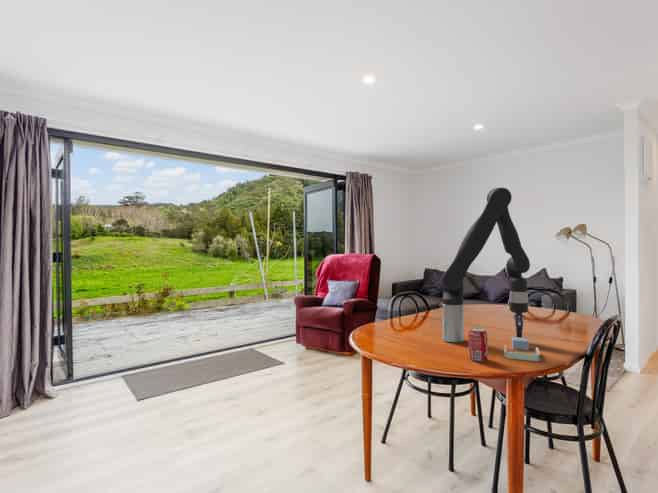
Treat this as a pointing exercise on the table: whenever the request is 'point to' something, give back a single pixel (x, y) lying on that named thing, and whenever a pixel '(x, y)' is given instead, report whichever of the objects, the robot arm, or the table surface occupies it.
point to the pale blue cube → (520, 343)
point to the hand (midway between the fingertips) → (519, 339)
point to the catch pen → (522, 355)
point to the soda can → (478, 344)
